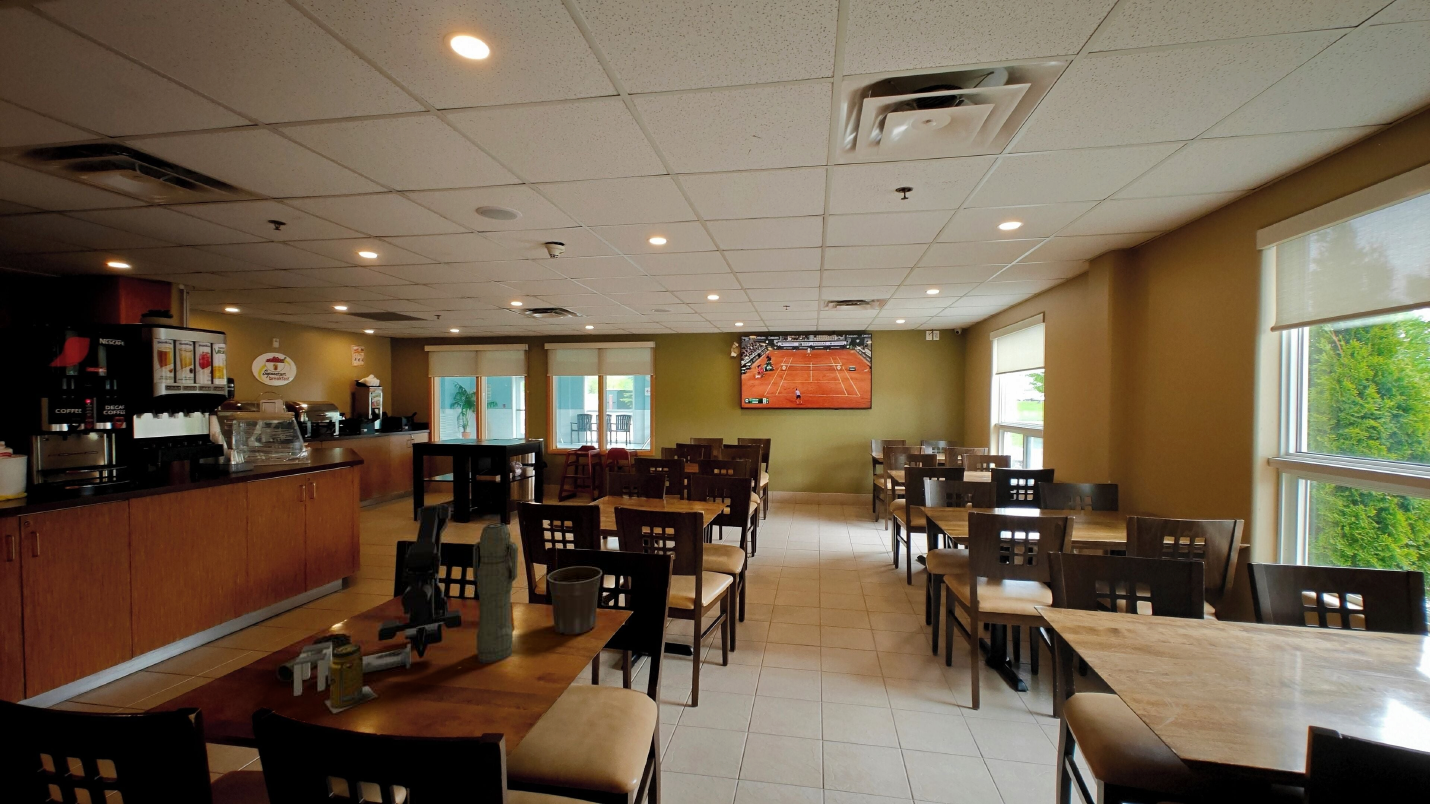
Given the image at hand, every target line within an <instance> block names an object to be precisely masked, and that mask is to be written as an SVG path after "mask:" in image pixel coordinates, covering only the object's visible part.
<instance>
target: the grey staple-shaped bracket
mask: <svg viewBox="0 0 1430 804" xmlns="http://www.w3.org/2000/svg"><path fill="white" fill-rule="evenodd" d="M320 650H323V652H322V653H321V654H315V655H310V652H314V651H320ZM299 656H300V657H299ZM299 656H297V657H298V658H297V657H296V658H297V659H296V661H295V663H294V679H293V696H294V697H296V696H301V695H302V692H303V680H309V678H310V676H311V669H310V662H316V661H318V665H317V692H320V691H324V690H325V688H326V676H328V666H329V664H330V662H331V659H332V658H333V657H332V642H328V643H322V644H316V645H312V644H311V645H306V646H303V648H302V650H301V652H300V655H299ZM302 666H303V674H302Z"/></svg>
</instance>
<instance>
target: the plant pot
mask: <svg viewBox="0 0 1430 804" xmlns="http://www.w3.org/2000/svg"><path fill="white" fill-rule="evenodd" d="M602 575H603V571H602V570H601V569H600V568H598V567H593V566H588V565H587V566H585V565H584V566H582V565H581V566H580V565H578V566H570V567H565V568H564V567H563V568H560V569H557V570H554V571H551V572H550V573H549V574H547V577H546V579H547V581H548V585H549V586H548V588H549V591H550V595H551V604H552V613H553V614H552V617H553V624H554V626H553V627H554V628H553V629H554V631H555V632H556V633H558V634H560V635H561V634H564V635H567V636H571V635H574V636H575V635H580V634H584V633H587V632H589V631H590V630H591V629H593V628H595V627H596V622H597V608H598V600H599V599H598V597H599V588H600V586H601V577H602Z"/></svg>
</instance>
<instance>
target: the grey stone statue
mask: <svg viewBox="0 0 1430 804" xmlns="http://www.w3.org/2000/svg"><path fill="white" fill-rule="evenodd" d="M510 553H511V556H510ZM518 553H519V547H518V545H517V544H516V542H512V540H511V531H510V530H509V526H508V525H507V524H505V523H503V522H502V523H501V522H495V523H489V524H486V525H485V526H483V527H482V530H481V534H480V538H479V541H477V542H475V544H474V545H473V547H472V576H473V581H474V582H475V583H476V584H477V586H476V591H477V594H478V599H479V601H478V602H479V603H478V606H479V607H478V611H479V612H478V615H479V616H478V630H477V633H476V650H477V657H476V659H477V660H478V661H479V662H480V663H484V664H488V663H489V664H491V663H497V662H500V661H504V660H506V659H508V658H509V657H511V656H512V654H513V647H512V646H513V643H514V642H513V641H514V640H513V638H514V637H513V636H514V635H513V634H514V633H513V632H514V631H513V629H514V627H513V624H512V620H511V615H512V614H511V612H512V611H511V610H512V609H511V607H512V606H511V605H512V604H511V600H512V599H511V596H512V595H511V594H512V593H511V591H512V589H513V587H514V586H513V582H514V581H515V580H516V579H517V578H518V557H519V554H518ZM479 556H480V560H479Z"/></svg>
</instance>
